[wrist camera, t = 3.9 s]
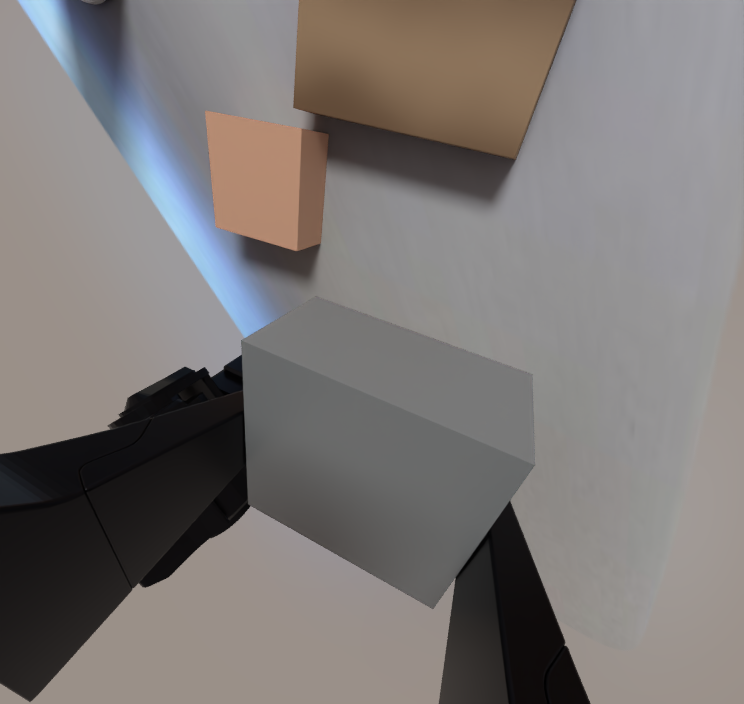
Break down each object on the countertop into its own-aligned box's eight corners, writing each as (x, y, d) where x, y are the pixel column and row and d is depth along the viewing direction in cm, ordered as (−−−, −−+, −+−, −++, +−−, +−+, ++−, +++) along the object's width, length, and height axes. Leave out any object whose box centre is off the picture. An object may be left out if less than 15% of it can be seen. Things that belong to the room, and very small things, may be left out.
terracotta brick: (322, 242, 22) (297, 251, 19) (248, 221, 23) (215, 227, 21) (331, 134, 18) (301, 128, 16) (244, 118, 20) (205, 110, 17)
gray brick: (453, 513, 11) (433, 609, 9) (302, 439, 12) (248, 504, 10) (532, 374, 8) (535, 464, 5) (316, 296, 9) (241, 340, 7)
